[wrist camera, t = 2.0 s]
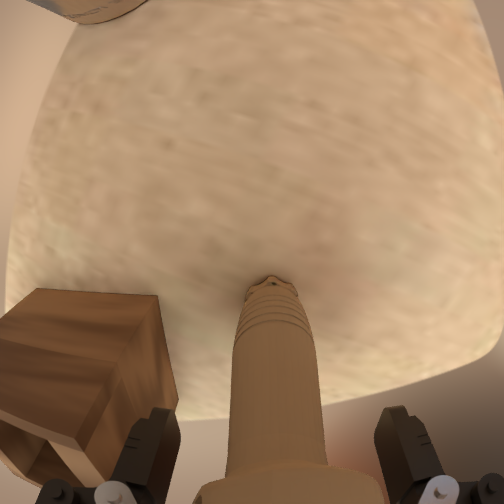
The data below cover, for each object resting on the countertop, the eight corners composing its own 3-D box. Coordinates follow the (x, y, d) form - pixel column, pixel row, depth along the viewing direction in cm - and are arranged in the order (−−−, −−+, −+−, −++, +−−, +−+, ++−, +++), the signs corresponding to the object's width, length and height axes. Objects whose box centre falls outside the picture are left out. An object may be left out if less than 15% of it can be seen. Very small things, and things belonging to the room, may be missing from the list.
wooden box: (36, 288, 20) (-60, 376, 9) (157, 295, 20) (74, 438, 9) (71, 381, 24) (14, 474, 12) (178, 399, 23) (143, 524, 12)
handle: (330, 271, 19) (422, 505, 5) (281, 347, 21) (291, 563, 7) (259, 237, 18) (246, 498, 4) (217, 320, 20) (165, 545, 6)
